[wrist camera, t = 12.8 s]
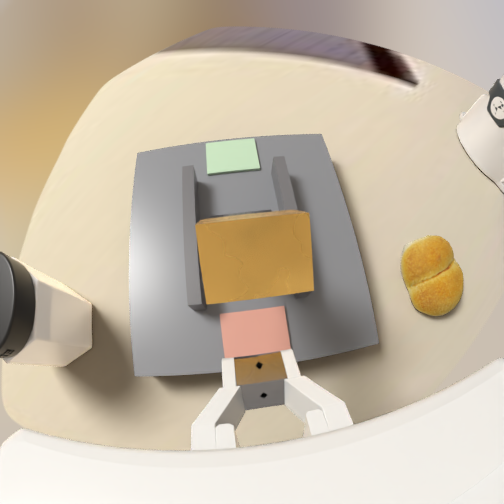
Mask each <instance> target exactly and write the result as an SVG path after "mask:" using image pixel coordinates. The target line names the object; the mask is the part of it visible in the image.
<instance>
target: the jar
mask: <svg viewBox="0 0 504 504" xmlns="http://www.w3.org/2000/svg"><path fill="white" fill-rule="evenodd" d="M91 348H92V304H91V303H90V302H89V301H87V300H86V299H84V298H83V297H82V296H80V295H79V294H77V293H76V292H75V291H73V290H72V289H70V288H69V287H68V286H66V285H65V284H63V283H61V282H59V281H57V280H55V279H53V278H51V277H49V276H47V275H45V274H43V273H41V272H40V271H38V270H36V269H34V268H32V267H30V266H29V265H27V264H25V263H23V262H21V261H20V260H18V259H16V258H14V257H9V256H8V255H6V254H4V253H2V252H0V358H3V360H4V361H5V362H6V363H10V364H22V365H37V366H61V367H65V366H66V365H68V364H69V363H71V362H72V361H74V360H75V359H77V358H78V357H79V356H81V355H82V354H84V353H85V352H87V351H88V350H89V349H91Z"/></svg>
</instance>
